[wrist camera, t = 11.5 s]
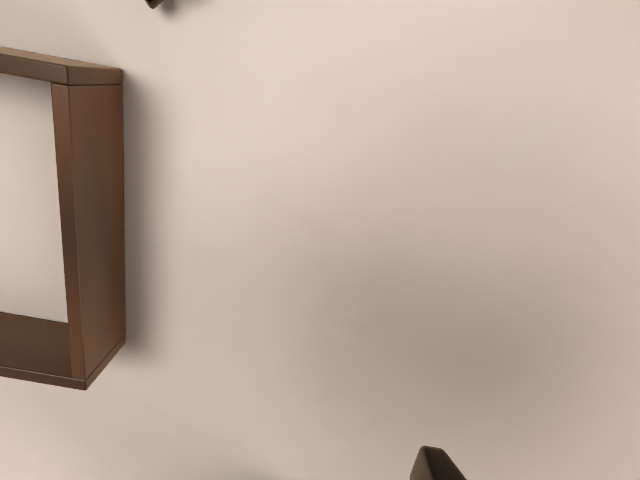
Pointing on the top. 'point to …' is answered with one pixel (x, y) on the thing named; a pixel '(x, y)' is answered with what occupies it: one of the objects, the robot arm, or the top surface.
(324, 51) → the top surface
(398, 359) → the top surface
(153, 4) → the black dial case
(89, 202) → the desk tray
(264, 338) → the top surface
